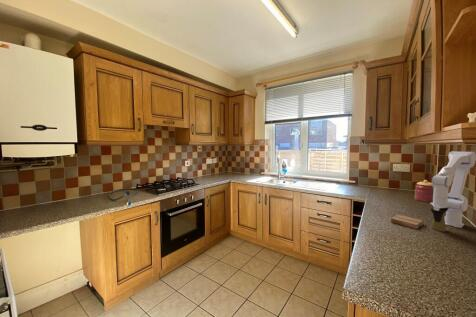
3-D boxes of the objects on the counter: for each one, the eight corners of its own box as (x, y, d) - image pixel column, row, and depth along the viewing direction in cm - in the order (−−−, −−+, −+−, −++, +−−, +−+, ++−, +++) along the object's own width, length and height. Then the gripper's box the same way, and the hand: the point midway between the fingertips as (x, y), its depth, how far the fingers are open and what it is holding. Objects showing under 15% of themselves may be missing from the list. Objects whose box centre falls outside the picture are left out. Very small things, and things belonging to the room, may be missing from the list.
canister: (437, 203, 160) (438, 181, 159) (416, 201, 167) (417, 180, 166) (432, 199, 171) (433, 179, 170) (412, 197, 178) (413, 178, 177)
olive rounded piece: (430, 226, 116) (431, 207, 116) (445, 228, 113) (446, 209, 112) (431, 229, 112) (432, 210, 111) (446, 232, 108) (448, 212, 107)
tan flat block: (398, 218, 129) (398, 214, 129) (422, 224, 119) (423, 220, 119) (390, 222, 122) (391, 218, 122) (416, 229, 112) (416, 224, 112)
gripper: (434, 193, 118) (432, 215, 119) (426, 197, 110) (425, 221, 111) (451, 196, 112) (449, 219, 113) (444, 200, 104) (443, 225, 105)
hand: (438, 220), depth 112 cm, fingers closed on olive rounded piece, 5 cm apart
